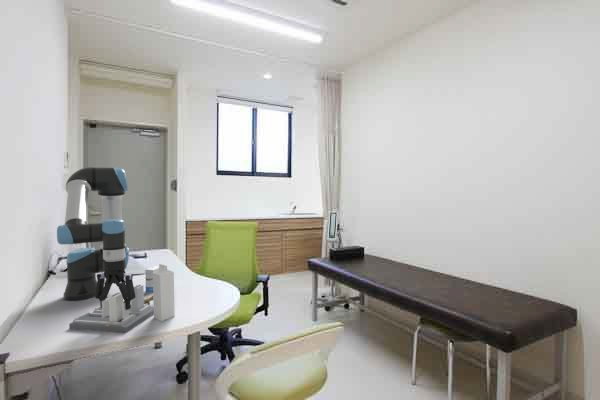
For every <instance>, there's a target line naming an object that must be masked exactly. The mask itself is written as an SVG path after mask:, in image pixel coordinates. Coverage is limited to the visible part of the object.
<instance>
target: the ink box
mask: <svg viewBox="0 0 600 400" xmlns="http://www.w3.org/2000/svg"><path fill="white" fill-rule="evenodd" d="M158 268H159V265H154V266H151V267H148V268H146V269H144V270H145V271H144V273H145V292H147V293H153V272H154V271H156V270H157V269H158Z"/></svg>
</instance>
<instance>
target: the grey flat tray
mask: <svg viewBox="0 0 600 400" xmlns="http://www.w3.org/2000/svg"><path fill="white" fill-rule="evenodd" d="M100 306H101V305H99V306H96V307H95V308H94V309H93V312H90V311H86V312H84V313H82V314H81V315H78V316H77V317H74V318H73V320H72V321H71V322H70V323H69V325H68V326H69V328H68V329H70V330H80V331H96V332H109V333H110V332H111V333H128V332H130V331H131V330H133V329H134V328H136V327H137V326H139V325H141V324H142V323H144V321H146V320H147V319H149V318H150V317H152V316H154V306H151V304H150V305H148V304H144V308H142V309H140V310H139V311H138V312H131V308H130V309H129V317H127V318H125V319H121V320H119V321H118V322H110V320H109V315H108V316H106V317H104V318H102V308H101V307H100Z"/></svg>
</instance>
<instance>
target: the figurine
mask: <svg viewBox="0 0 600 400" xmlns="http://www.w3.org/2000/svg"><path fill="white" fill-rule="evenodd" d="M151 301H153V295H152V296H150V297H147V298H145V299H144V305H150V306H151V303H150V302H151Z"/></svg>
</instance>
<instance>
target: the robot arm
mask: <svg viewBox="0 0 600 400" xmlns="http://www.w3.org/2000/svg"><path fill="white" fill-rule="evenodd" d="M126 175H127V174H126V171H125V170H124V169H123V168H119V167H93V166H92V167H91V166H88V167H83V168H80V169H78V170H76V171H74V173H72V174H71V175H70V176H69V178H68V179H67V180H66V183H65V192H67V197H66V198H67V199H66V209H65V219H64V224H61V225H58V226H57V228H56V238H57V239H56V240H57V243H58V245H77V244H79V245H80V244H88V243H89V244H90V243H100V242H101V245H100V246H99V249H96V248H95V247H84V248H79V249H76V250H73V251H70V252H68V254H67V255H66V268H67V269H66V273H67V275H66V276H67V281H66V282H67V283H66V285H65V288H64V289H65V290H64V292H63V300H65V301H80V300H81V301H82V300H87V299H91V298H93V297H94V298H95V299H96V300H97V299H98V300H99V301H100V302H99V303H100V305H99V306H100V307H101V308H102V318H104V317H106V316H108V315H109V296H108V295H109V293H110V290H111V288H112V285H113V284H115V285H116V287H118V290H119V292H120V293H121V294H122V297H123V302H122V310H123V319H125V318H127V317H129V309H130V308H131V300H133V299H134V298H135V292H134V286H135V285H134V282H133V278H134V277H133V276H134V275H133V273H127V272H126V271H125V270H126V268H127V267H128V264H129V256H130V255H129V254H130V248H129V247H127V244H126V226H125V225H126V224H125V220H123V211H122V209H123V207H122V206H123V205H122V203H123V201H122V198H123V197H124V196H125V195H126V192H128V191H129V188H128V180H127V176H126ZM91 192H97V195H98V196H99V197H100V198H101V211H102V212H101V214H102V216H101V218H102V220H101V221H102V222H100V223H98V222H97V223H88V220H89V218H88V217H89V216H88V214H89V194H90V193H91Z"/></svg>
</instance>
